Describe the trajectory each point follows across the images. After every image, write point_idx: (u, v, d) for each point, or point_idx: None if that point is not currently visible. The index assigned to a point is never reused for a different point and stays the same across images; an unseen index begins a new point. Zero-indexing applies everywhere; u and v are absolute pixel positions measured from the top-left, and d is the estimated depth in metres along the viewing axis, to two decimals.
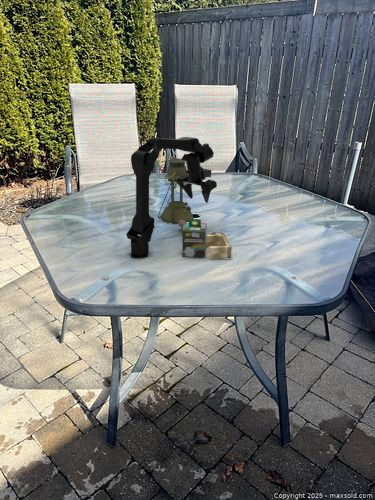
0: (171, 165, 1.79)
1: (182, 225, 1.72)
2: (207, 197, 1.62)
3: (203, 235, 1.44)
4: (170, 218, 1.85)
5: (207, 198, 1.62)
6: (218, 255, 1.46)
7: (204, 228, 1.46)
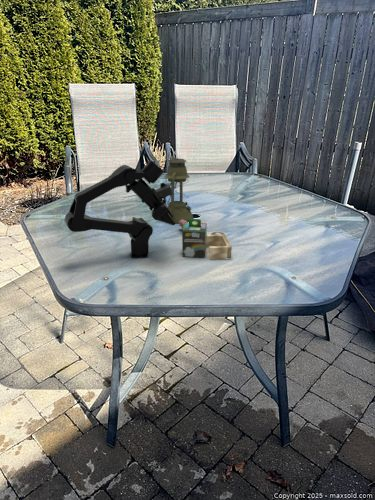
0: (171, 165, 1.79)
1: (183, 225, 1.72)
2: (169, 220, 1.41)
3: (203, 235, 1.44)
4: None
5: (170, 221, 1.41)
6: (218, 255, 1.46)
7: (204, 228, 1.46)
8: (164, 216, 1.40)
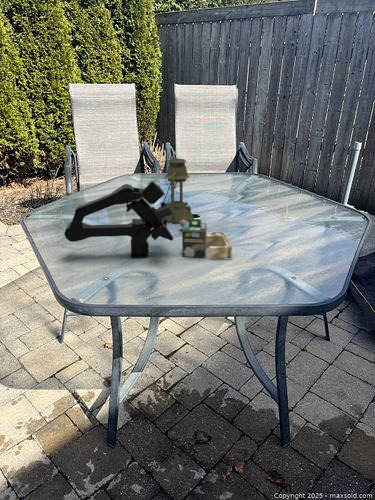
0: (171, 165, 1.79)
1: (183, 225, 1.72)
2: (167, 236, 1.47)
3: (203, 235, 1.44)
4: (170, 218, 1.85)
5: (168, 236, 1.48)
6: (218, 255, 1.46)
7: (204, 228, 1.46)
8: None
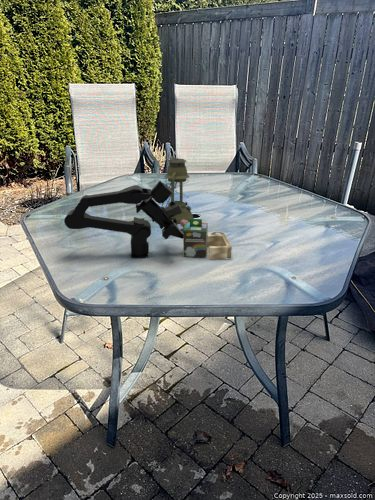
0: (171, 165, 1.79)
1: (184, 225, 1.72)
2: (178, 234, 1.47)
3: (204, 235, 1.44)
4: None
5: (179, 235, 1.48)
6: (218, 255, 1.46)
7: (205, 228, 1.46)
8: None
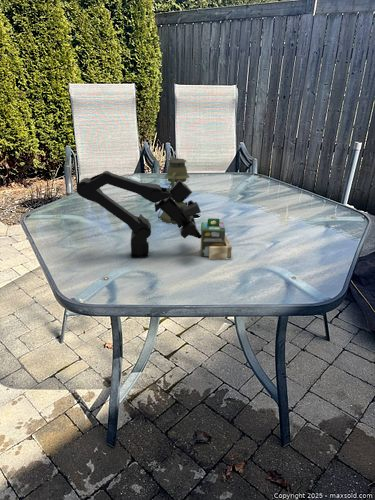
0: (171, 165, 1.79)
1: None
2: (196, 234, 1.48)
3: (223, 234, 1.45)
4: None
5: (197, 235, 1.48)
6: (218, 255, 1.46)
7: (223, 227, 1.47)
8: None
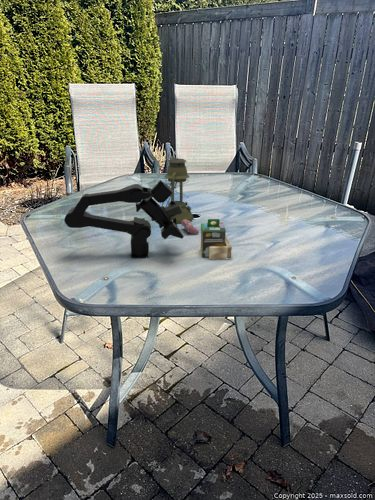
0: (171, 165, 1.79)
1: None
2: (177, 234, 1.47)
3: (223, 234, 1.45)
4: None
5: (178, 235, 1.48)
6: (218, 255, 1.46)
7: (223, 227, 1.47)
8: None
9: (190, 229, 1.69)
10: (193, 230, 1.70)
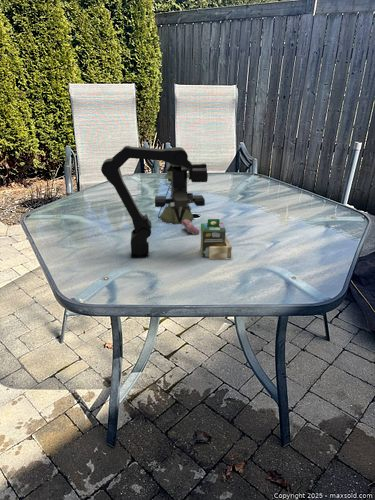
0: None
1: (186, 224, 1.72)
2: (176, 215, 1.46)
3: (223, 234, 1.45)
4: (170, 218, 1.85)
5: None
6: (218, 255, 1.46)
7: (223, 227, 1.47)
8: None
9: (191, 229, 1.70)
10: (194, 230, 1.70)
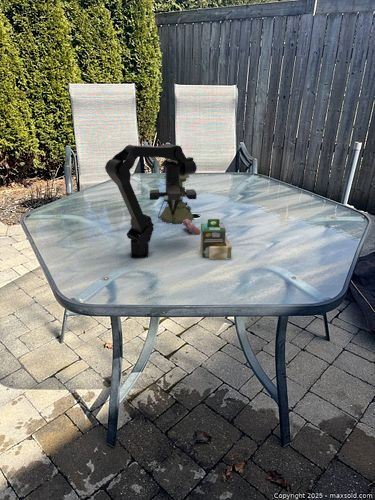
0: None
1: (187, 224, 1.72)
2: None
3: (223, 234, 1.45)
4: (170, 218, 1.85)
5: (170, 209, 1.55)
6: (218, 255, 1.46)
7: (223, 227, 1.47)
8: None
9: (192, 229, 1.70)
10: (195, 230, 1.70)
